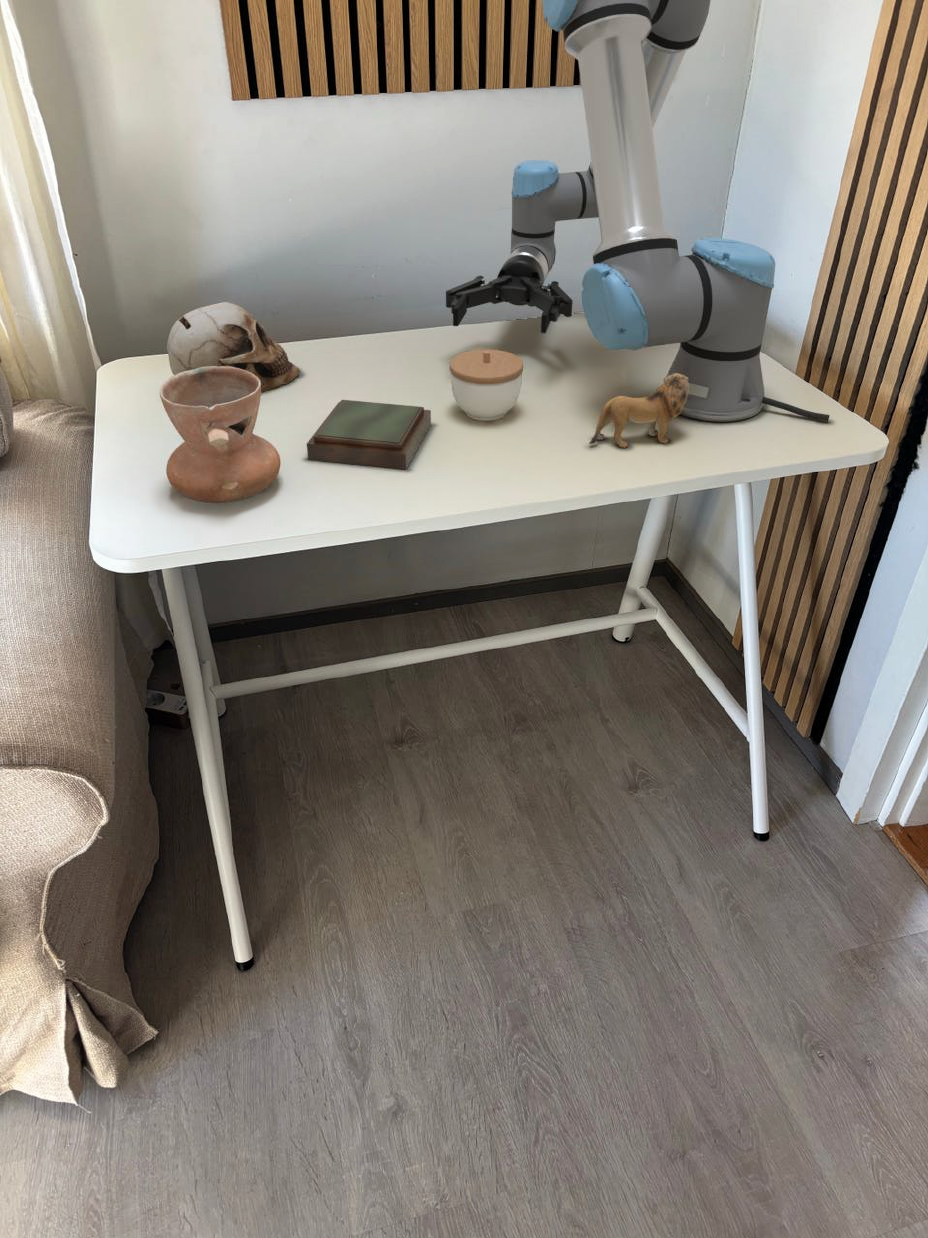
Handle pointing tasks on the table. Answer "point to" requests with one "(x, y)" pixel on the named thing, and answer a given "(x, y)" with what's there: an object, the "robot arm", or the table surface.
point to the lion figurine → (646, 409)
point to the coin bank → (228, 345)
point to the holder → (370, 434)
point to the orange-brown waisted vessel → (217, 435)
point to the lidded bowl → (486, 382)
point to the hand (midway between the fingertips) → (499, 320)
